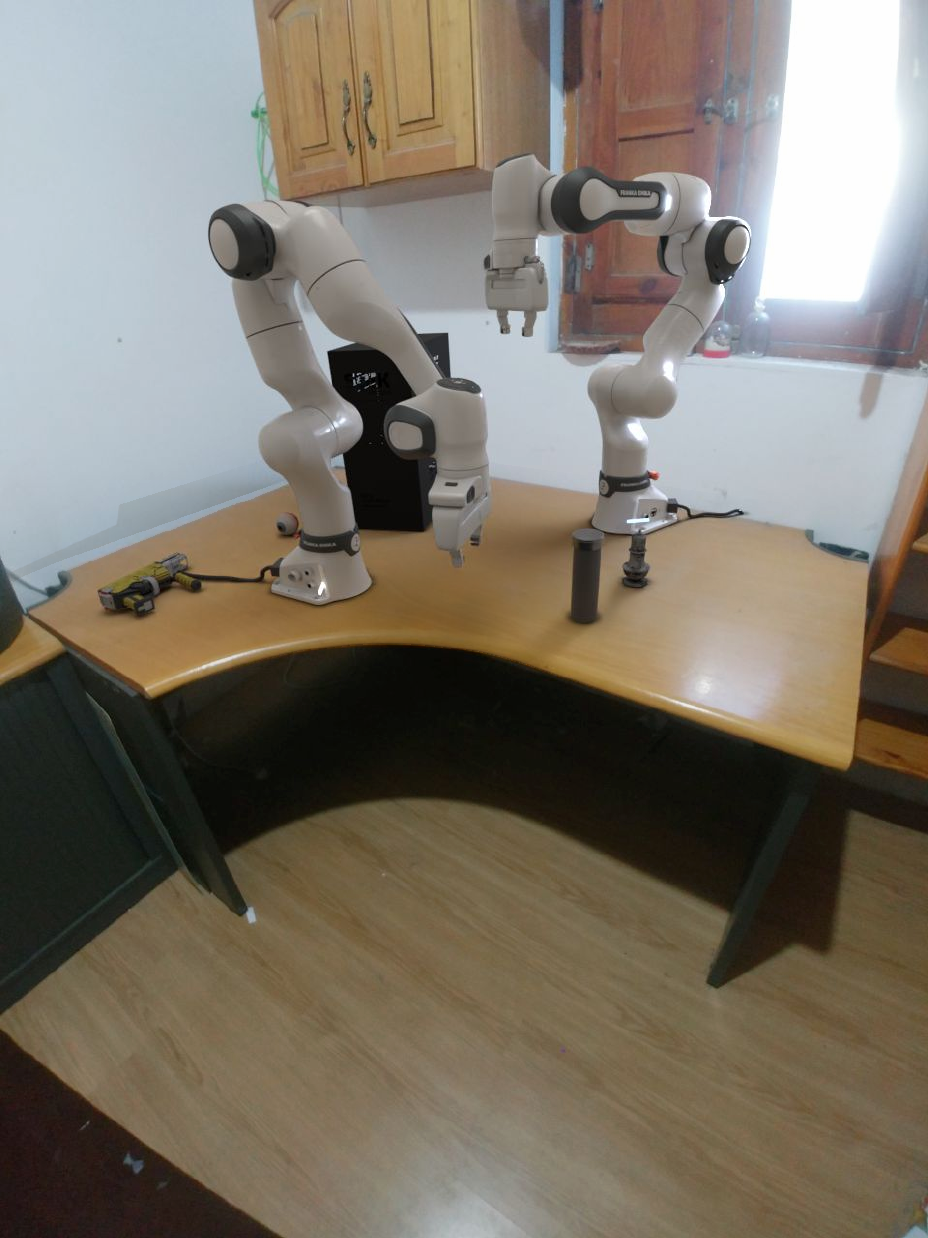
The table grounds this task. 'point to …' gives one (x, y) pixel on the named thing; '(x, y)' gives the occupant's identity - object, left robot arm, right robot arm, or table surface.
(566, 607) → the table surface
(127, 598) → the toy gun
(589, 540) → the lid
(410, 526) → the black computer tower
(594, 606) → the grey tall cylinder
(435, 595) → the table surface
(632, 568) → the dark grey chess piece
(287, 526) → the eyeball
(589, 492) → the table surface
